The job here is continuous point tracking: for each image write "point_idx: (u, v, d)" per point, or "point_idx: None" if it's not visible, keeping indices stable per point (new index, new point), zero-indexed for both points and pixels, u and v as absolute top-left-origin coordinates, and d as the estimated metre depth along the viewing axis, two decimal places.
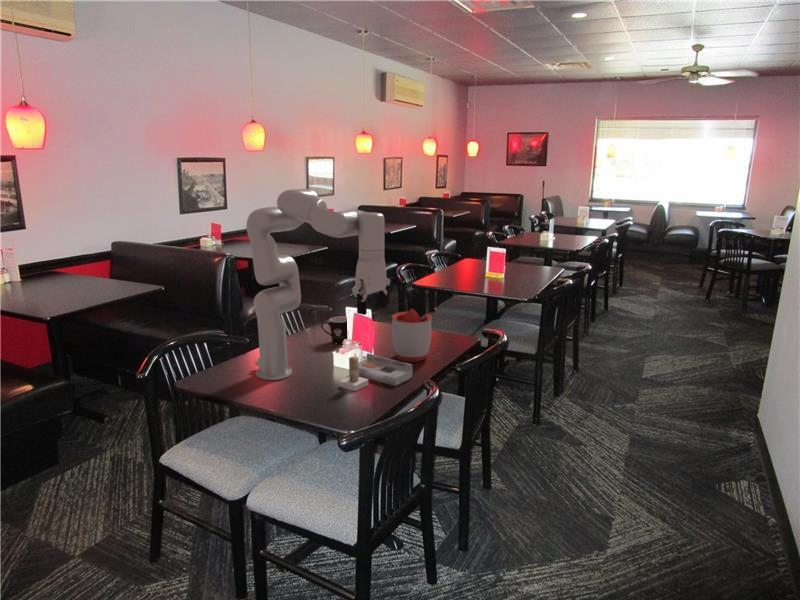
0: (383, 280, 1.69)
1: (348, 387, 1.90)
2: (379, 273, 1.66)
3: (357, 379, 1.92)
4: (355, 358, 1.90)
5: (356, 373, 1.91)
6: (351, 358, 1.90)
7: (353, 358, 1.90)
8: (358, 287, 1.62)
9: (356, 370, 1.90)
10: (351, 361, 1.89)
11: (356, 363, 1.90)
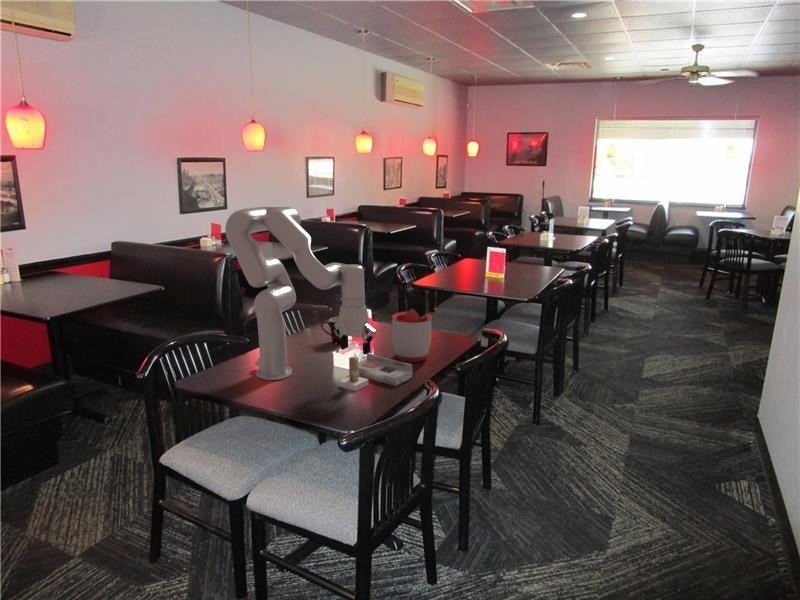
0: None
1: (348, 387, 1.90)
2: None
3: (357, 379, 1.92)
4: (355, 358, 1.90)
5: (356, 373, 1.91)
6: (351, 358, 1.90)
7: (353, 358, 1.90)
8: None
9: (356, 370, 1.90)
10: (351, 361, 1.89)
11: (356, 363, 1.90)
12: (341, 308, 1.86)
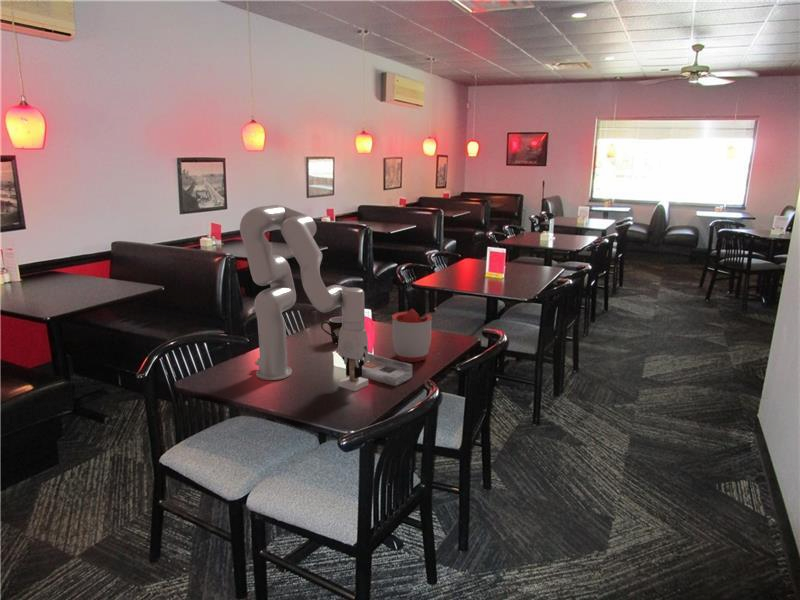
0: None
1: (348, 387, 1.90)
2: None
3: (357, 379, 1.92)
4: None
5: None
6: None
7: None
8: None
9: None
10: (351, 361, 1.89)
11: None
12: (341, 330, 1.88)
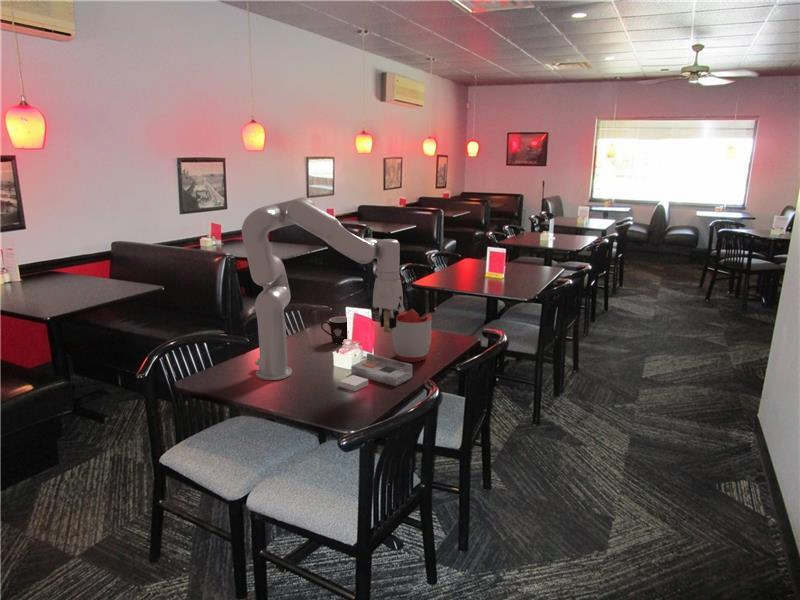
0: None
1: (348, 387, 1.90)
2: None
3: (391, 330, 1.95)
4: None
5: None
6: (386, 309, 1.94)
7: None
8: None
9: None
10: (386, 312, 1.93)
11: None
12: (376, 281, 1.92)
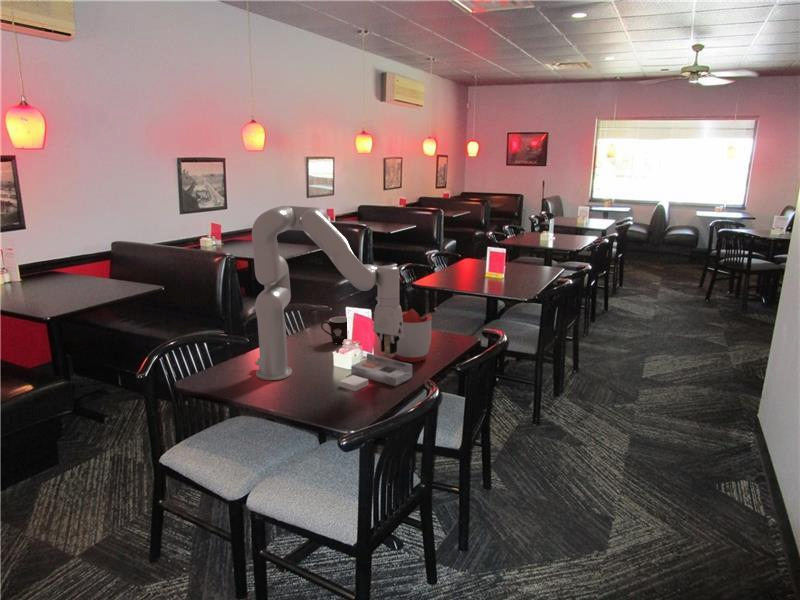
0: None
1: (348, 387, 1.90)
2: None
3: (392, 355, 1.98)
4: None
5: None
6: None
7: None
8: None
9: None
10: (386, 337, 1.95)
11: None
12: (376, 307, 1.94)
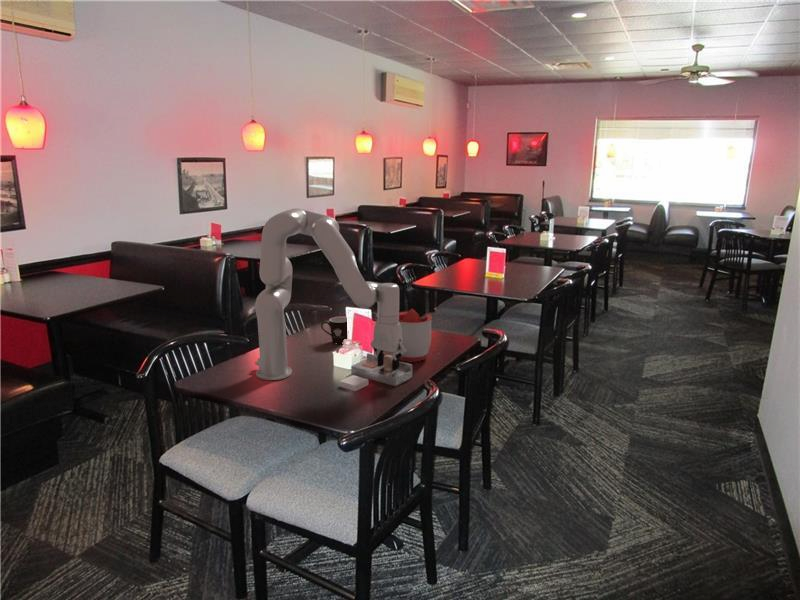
0: None
1: (348, 387, 1.90)
2: None
3: None
4: (389, 356, 1.98)
5: (390, 371, 1.99)
6: (385, 356, 1.98)
7: (387, 356, 1.98)
8: None
9: (390, 368, 1.98)
10: (386, 359, 1.97)
11: (390, 361, 1.98)
12: (376, 324, 1.96)
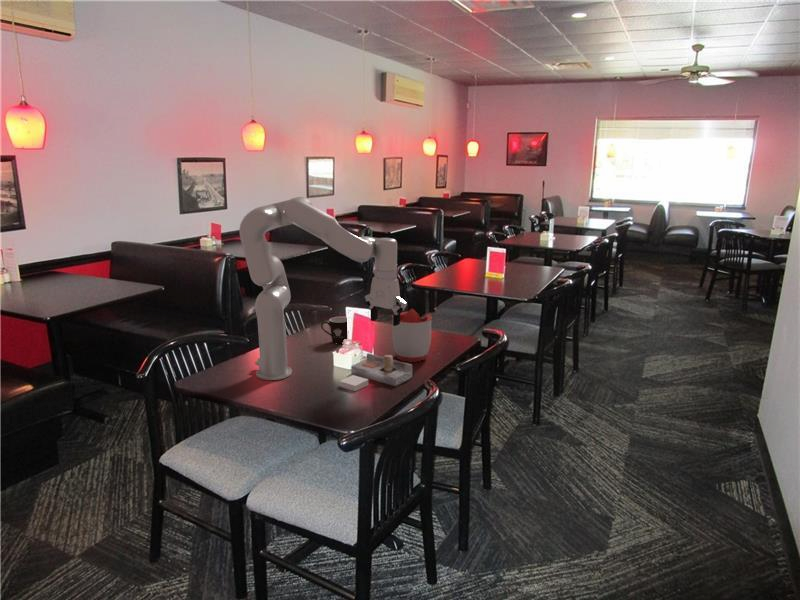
0: None
1: (348, 387, 1.90)
2: None
3: None
4: (389, 356, 1.98)
5: (390, 371, 1.99)
6: (385, 356, 1.98)
7: (387, 356, 1.98)
8: None
9: (390, 368, 1.98)
10: (386, 359, 1.97)
11: (390, 361, 1.98)
12: (373, 280, 1.92)
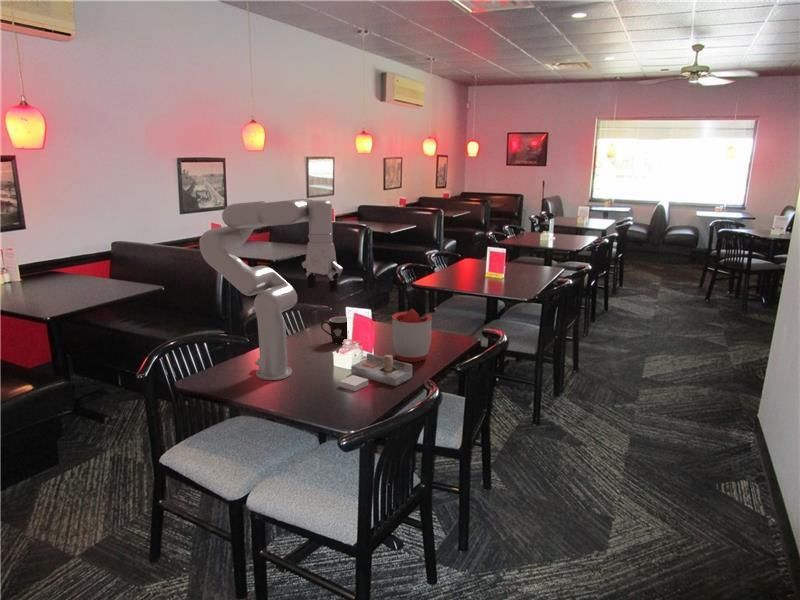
0: None
1: (348, 387, 1.90)
2: None
3: None
4: (389, 356, 1.98)
5: (390, 371, 1.99)
6: (385, 356, 1.98)
7: (387, 356, 1.98)
8: None
9: (390, 368, 1.98)
10: (386, 359, 1.97)
11: (390, 361, 1.98)
12: (308, 245, 1.84)
